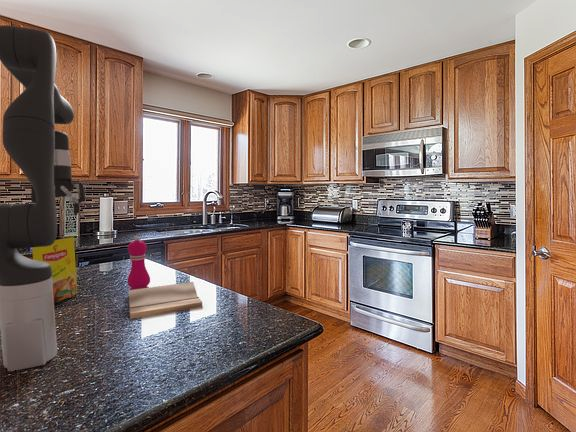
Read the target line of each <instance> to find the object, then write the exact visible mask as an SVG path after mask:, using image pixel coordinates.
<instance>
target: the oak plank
mask: <svg viewBox="0 0 576 432" xmlns="http://www.w3.org/2000/svg"><path fill="white" fill-rule="evenodd" d="M202 307H203V300H201V298H200V296H198V297H194V298H187V299H181V300H174V301H168V302H161V303H155V304H148V305H142V306H136V307H130V306H129V317H130V319H131V320H132V319H138V318H144V317H149V316H154V315H161V314H167V313H174V312H179V311H185V310H190V309H191V310H192V309H197V308H202Z"/></svg>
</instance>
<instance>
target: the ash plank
mask: <svg viewBox="0 0 576 432" xmlns="http://www.w3.org/2000/svg"><path fill="white" fill-rule="evenodd" d="M194 297H199V296H198V293H197V290H196V287H195V282H194V281H191V282H189V281H188V282H183V283H182V282H181V283H174V284H166V285H159V286H158V285H157V286H152V287H149V288H143V289H135V290H130V289H129V290H128V301H129V307H136V306H142V305H148V304H155V303H161V302H168V301H174V300H181V299H187V298H194Z"/></svg>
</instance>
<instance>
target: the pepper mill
mask: <svg viewBox="0 0 576 432" xmlns="http://www.w3.org/2000/svg"><path fill="white" fill-rule="evenodd" d="M140 239H141V238H140V236H137V235H135V236H134V237H133V241H131V242H130V243H129V244H128V245H127V251H128V253H129V254H130V255H129V260H130V262H131V266H130V267H131V268H130V271H129V274H128V277H127V281H126V282H127V285H128V287H130V288H129V290H135V289H143V288H150V287H149V284H150V282H151V277H150V274H149V272H148V270H147V269H146V268H147V267H146V263H145V260H146V258H147V257H146V254H145V253H146V251H147V250H148V249H147V248H148V247H147V244H146V242H144V241H143V240H140Z"/></svg>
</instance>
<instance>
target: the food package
mask: <svg viewBox="0 0 576 432" xmlns="http://www.w3.org/2000/svg"><path fill="white" fill-rule="evenodd" d="M75 249H76V248H75V237H74V236H73V237H66V238H62V239H61V238H60V239H55V242H54V243H53V244H52V245H50V246H45V247H32V260H37V261H41V262H46V263H48V264H50V266H51V268H52V282H53V298H54V304H55V303H58V302H61V301H63V300H65V299H68V298H71V297H73V296H76V295H78V285H77V284H78V283H77V282H78V279H77V267H76V250H75Z"/></svg>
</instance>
